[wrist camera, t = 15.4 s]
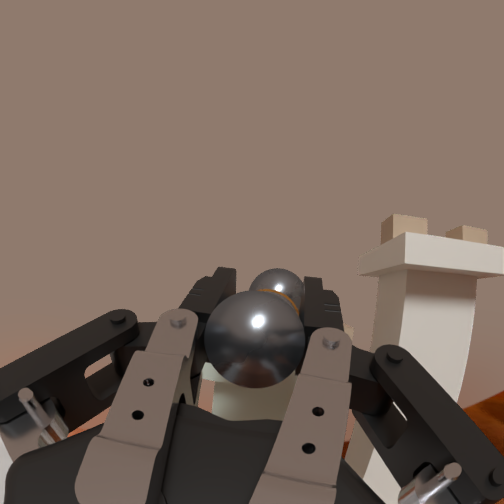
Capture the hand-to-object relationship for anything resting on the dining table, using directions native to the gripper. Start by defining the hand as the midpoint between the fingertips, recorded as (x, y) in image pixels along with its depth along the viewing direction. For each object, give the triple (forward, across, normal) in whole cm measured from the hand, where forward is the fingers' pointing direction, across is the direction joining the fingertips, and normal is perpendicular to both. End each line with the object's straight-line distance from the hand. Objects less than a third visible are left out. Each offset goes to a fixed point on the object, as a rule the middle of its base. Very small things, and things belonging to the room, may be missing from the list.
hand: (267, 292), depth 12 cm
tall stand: (-3, -13, +28) cm, 31 cm away
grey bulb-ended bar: (+4, 0, +6) cm, 7 cm away
